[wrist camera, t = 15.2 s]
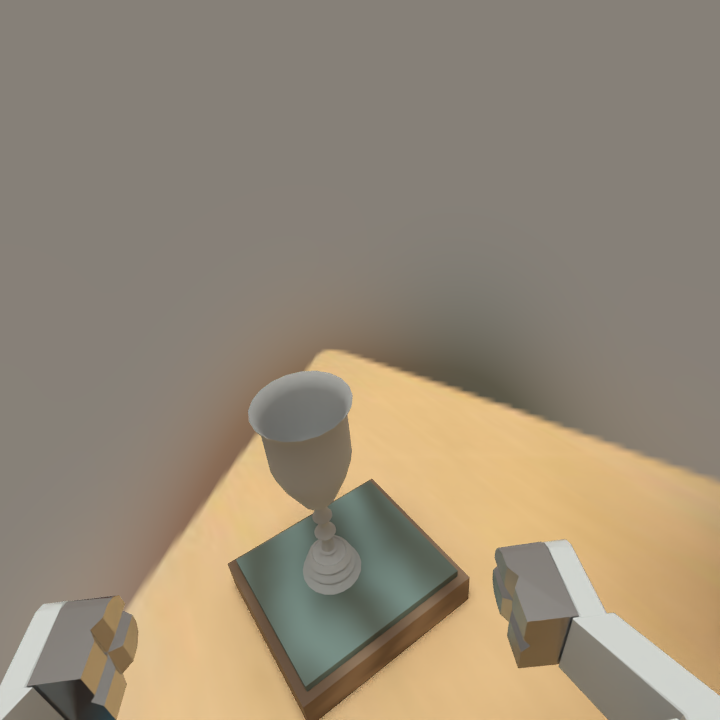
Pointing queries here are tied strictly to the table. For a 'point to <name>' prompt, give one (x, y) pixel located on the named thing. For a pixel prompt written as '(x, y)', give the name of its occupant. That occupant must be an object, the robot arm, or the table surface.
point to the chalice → (311, 463)
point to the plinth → (348, 598)
